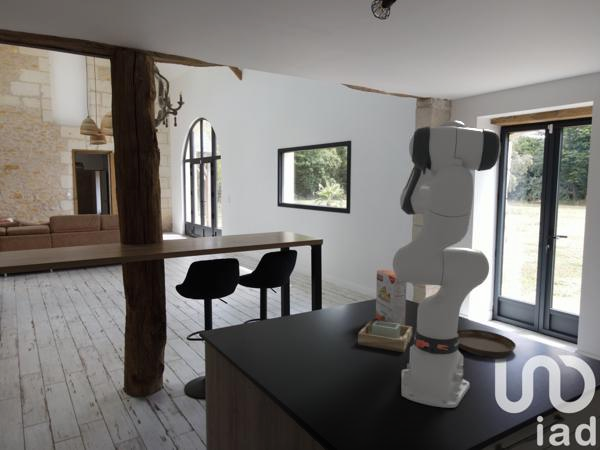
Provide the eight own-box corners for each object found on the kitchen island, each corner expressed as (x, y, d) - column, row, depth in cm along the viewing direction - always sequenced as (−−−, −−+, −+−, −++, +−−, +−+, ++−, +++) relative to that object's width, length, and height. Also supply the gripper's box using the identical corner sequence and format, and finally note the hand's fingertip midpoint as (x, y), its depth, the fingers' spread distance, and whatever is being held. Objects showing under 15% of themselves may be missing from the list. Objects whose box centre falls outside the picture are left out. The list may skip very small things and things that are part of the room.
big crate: (403, 352, 141) (404, 340, 141) (357, 344, 148) (358, 333, 148) (411, 337, 156) (412, 326, 156) (369, 330, 162) (370, 320, 162)
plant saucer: (518, 345, 150) (519, 336, 149) (510, 365, 133) (511, 355, 132) (458, 333, 161) (459, 325, 161) (444, 350, 144) (444, 341, 144)
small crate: (396, 342, 147) (397, 329, 147) (371, 338, 151) (371, 325, 150) (399, 337, 153) (400, 323, 152) (375, 333, 156) (376, 320, 156)
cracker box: (374, 318, 177) (376, 270, 175) (387, 317, 179) (388, 269, 177) (392, 329, 164) (394, 277, 162) (405, 328, 166) (407, 276, 164)
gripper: (441, 224, 143) (439, 264, 145) (447, 220, 162) (445, 255, 163) (422, 223, 146) (420, 262, 147) (430, 219, 164) (428, 254, 166)
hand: (433, 259), depth 155 cm, fingers open, 8 cm apart
